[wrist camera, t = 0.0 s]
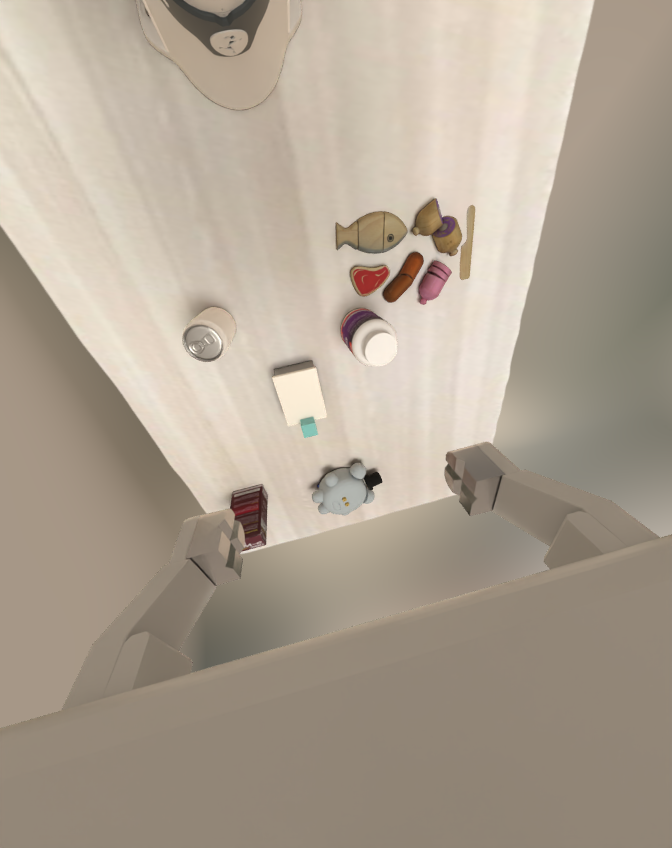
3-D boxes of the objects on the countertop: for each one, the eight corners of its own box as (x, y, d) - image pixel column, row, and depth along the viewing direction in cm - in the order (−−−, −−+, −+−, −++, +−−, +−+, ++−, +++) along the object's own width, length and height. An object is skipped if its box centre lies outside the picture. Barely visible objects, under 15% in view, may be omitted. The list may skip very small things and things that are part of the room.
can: (191, 318, 48) (168, 336, 38) (219, 299, 47) (204, 312, 38) (216, 348, 52) (202, 372, 42) (243, 330, 51) (235, 350, 41)
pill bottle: (331, 331, 54) (346, 354, 42) (358, 298, 51) (381, 312, 40) (359, 355, 58) (380, 382, 46) (385, 325, 55) (414, 345, 43)
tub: (274, 369, 56) (274, 377, 52) (312, 360, 57) (314, 368, 53) (288, 412, 62) (289, 423, 59) (322, 404, 63) (325, 414, 59)
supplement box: (239, 502, 75) (231, 555, 62) (232, 491, 73) (222, 544, 60) (268, 494, 76) (266, 545, 63) (263, 483, 73) (260, 534, 60)
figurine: (321, 510, 83) (379, 484, 85) (328, 533, 76) (391, 505, 78) (302, 474, 73) (367, 445, 75) (308, 496, 67) (379, 464, 68)
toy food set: (474, 187, 46) (490, 182, 42) (466, 290, 55) (479, 293, 52) (331, 222, 45) (335, 220, 41) (347, 321, 54) (352, 325, 51)
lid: (272, 375, 53) (271, 383, 49) (315, 365, 53) (317, 373, 50) (290, 430, 61) (291, 441, 57) (327, 421, 61) (330, 431, 58)
